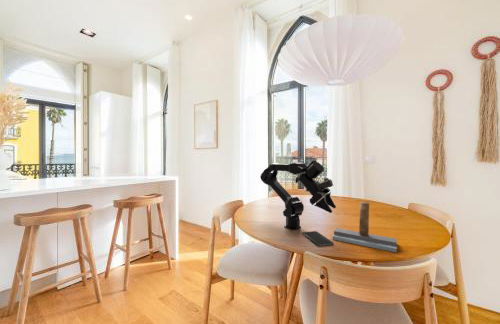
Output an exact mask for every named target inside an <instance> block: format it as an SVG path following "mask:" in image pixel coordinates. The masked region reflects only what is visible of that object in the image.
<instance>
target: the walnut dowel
mask: <svg viewBox="0 0 500 324" xmlns="http://www.w3.org/2000/svg"><path fill="white" fill-rule="evenodd" d="M369 222H370V203H369V202H367V201H361V202H359V223H358V224H359V231H358V232H359V235H361V236H368V235H369V234H370V232H369V228H370V227H369V225H370V223H369Z"/></svg>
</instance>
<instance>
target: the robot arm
mask: <svg viewBox="0 0 500 324" xmlns="http://www.w3.org/2000/svg"><path fill="white" fill-rule="evenodd" d="M324 171H325V167H324V166H323V165H322V164H321V163H319V162H318V161H317V160H312V161H310V163H309V164H308V165H307V164H306V163H305V162H292V163H287V164H286V163H278V162H276V163H275V162H274V163H271V164H269V165H268V167H266V168H265V169H264V170H263V171H262V172H261V174H260V180H261V181H262V182H263V184H265V185H267V186H270V187H271V189H272V190H273V191H274V192H275V193H276V195H277V196H278V197H279V198H280V199H281V200H282V202H283V203H284V207H285V209H284V210H283V211H282V214H283V216H284V217H285V225H284V226H283V227H284V228H286V229H290V230H291V231H292V230H293V231H295V230H297V229H300V228H301V227H302V226H301V224H300V223H301V219H300V216H302V214H303V213H304V209H305V207H304V203H303V200H301V199H300V198H299V197H298V196H294V197H293V196H292V195H291V194H290V193H289V192H288V191H287V190H286V188H284V187H283V185H282V184H281V183H280V182H279V181H278V177H277V176H278V172H288V173H290V174H291V175H297V176H296V177H295V184H297V183H301V185H302V186H303V187H304V188H305V191H306V192H309V194H310V195H311V198H309V203H310V205H312V206H314V207H317V208H319V209H322V210H324V211H325V212H328V213H329V214H331V213H333V210H332V209H336V208H337V206H336V204H335V203H334V201H333V198H332V197H331V195H332V192H331V189H330V188H331V187H333V186H334V184H333V180H332V179H331V178H328V177H326V178H324V179H323V181H322V182H319V180H315V179H317V178H318V177H319V176H320V175H321V174H322V173H323V172H324Z"/></svg>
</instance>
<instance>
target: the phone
mask: <svg viewBox="0 0 500 324" xmlns="http://www.w3.org/2000/svg"><path fill="white" fill-rule="evenodd" d="M302 235H303V236H304V237H305V238H306V239H307V240H308V241H310V242H311V243H312V244H314V245H315V247H329V246H331V247H332V246H334V242H333V241H332V240H330V239H329V238H327V237H326V236H324V235H323V234H321V233H320V232H318V231H315V230H314V231H303V232H302Z"/></svg>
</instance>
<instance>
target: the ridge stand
mask: <svg viewBox="0 0 500 324" xmlns="http://www.w3.org/2000/svg"><path fill="white" fill-rule="evenodd" d="M332 240H333V241H334V240H335V241H338V242H344V243H348V244H353V245H359V246H362V247H369V248H372V249H377V250H382V251H388V252H392V253H397V247H398V246H397V241H398V239H397V238H395V237H388V236H383V235H378V234H374V233H373V234H372V233H369V235H368V236H361V235H359V231H354V230H348V229H344V228H338V227H336V228H335V229H334V230H333V235H332Z"/></svg>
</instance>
